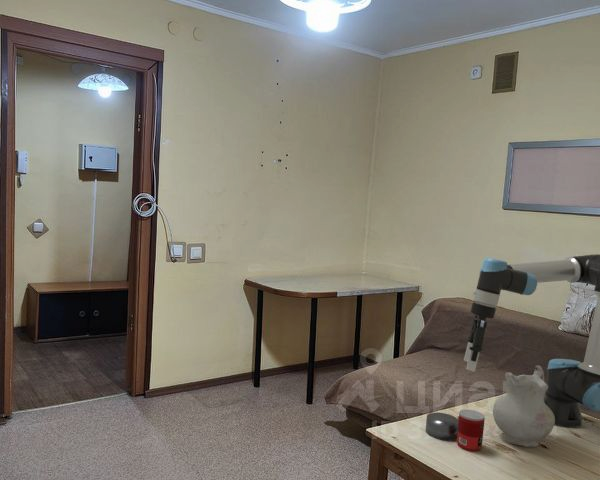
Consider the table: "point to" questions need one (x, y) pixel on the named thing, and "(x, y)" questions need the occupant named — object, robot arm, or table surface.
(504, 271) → the robot arm
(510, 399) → the ceramic pitcher
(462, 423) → the canned food
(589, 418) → the table surface
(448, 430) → the pedestal
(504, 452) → the table surface
